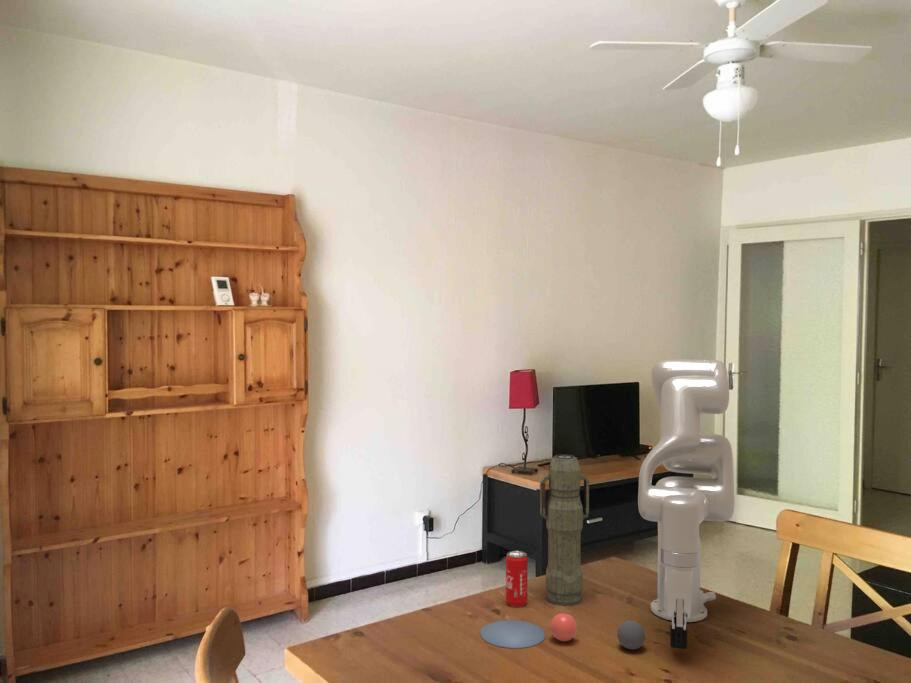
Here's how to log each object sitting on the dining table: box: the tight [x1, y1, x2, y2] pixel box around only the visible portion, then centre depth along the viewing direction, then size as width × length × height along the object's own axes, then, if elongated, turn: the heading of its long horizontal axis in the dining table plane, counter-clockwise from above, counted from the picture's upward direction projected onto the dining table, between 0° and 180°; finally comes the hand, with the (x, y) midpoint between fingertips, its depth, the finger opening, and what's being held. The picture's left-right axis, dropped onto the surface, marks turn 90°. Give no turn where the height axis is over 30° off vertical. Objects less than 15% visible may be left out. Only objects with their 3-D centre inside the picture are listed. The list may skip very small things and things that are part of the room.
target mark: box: [480, 619, 546, 649], centre depth 159 cm, size 14×14×1 cm
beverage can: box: [505, 550, 529, 608], centre depth 176 cm, size 5×5×12 cm
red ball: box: [550, 612, 578, 642], centre depth 156 cm, size 6×6×6 cm
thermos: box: [539, 454, 590, 606], centre depth 179 cm, size 9×12×35 cm
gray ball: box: [616, 620, 646, 650], centre depth 152 cm, size 6×6×6 cm
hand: (678, 646), depth 150 cm, fingers closed
